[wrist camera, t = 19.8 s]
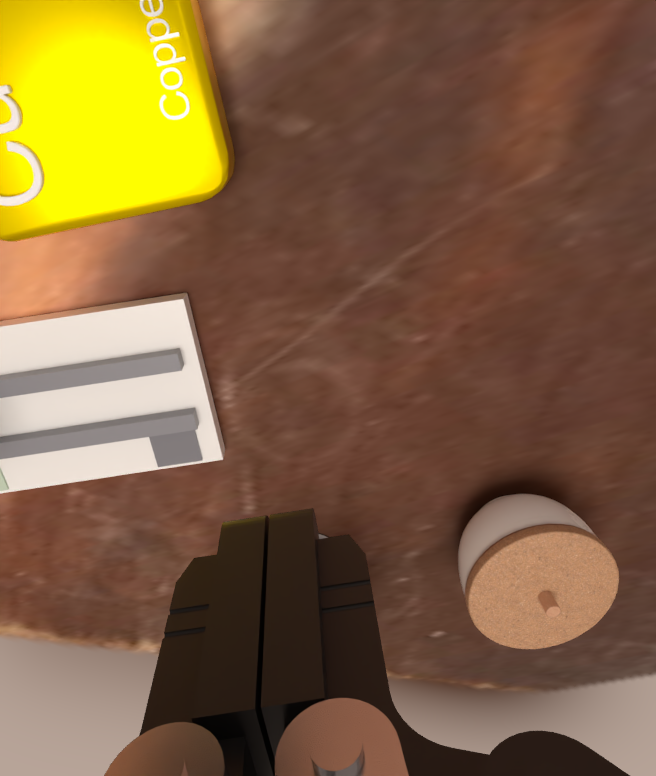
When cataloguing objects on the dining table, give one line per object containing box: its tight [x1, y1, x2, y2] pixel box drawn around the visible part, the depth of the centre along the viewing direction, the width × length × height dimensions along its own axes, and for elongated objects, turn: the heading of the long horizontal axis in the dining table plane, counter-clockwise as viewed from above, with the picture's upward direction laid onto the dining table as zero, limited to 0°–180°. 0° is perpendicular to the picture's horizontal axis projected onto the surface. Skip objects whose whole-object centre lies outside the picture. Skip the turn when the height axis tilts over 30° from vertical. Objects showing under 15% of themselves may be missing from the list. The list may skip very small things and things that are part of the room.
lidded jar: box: [458, 494, 619, 649], centre depth 45 cm, size 11×11×9 cm
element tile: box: [0, 0, 235, 241], centre depth 32 cm, size 15×15×5 cm
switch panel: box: [0, 293, 225, 493], centre depth 41 cm, size 12×20×2 cm, turn 98°
